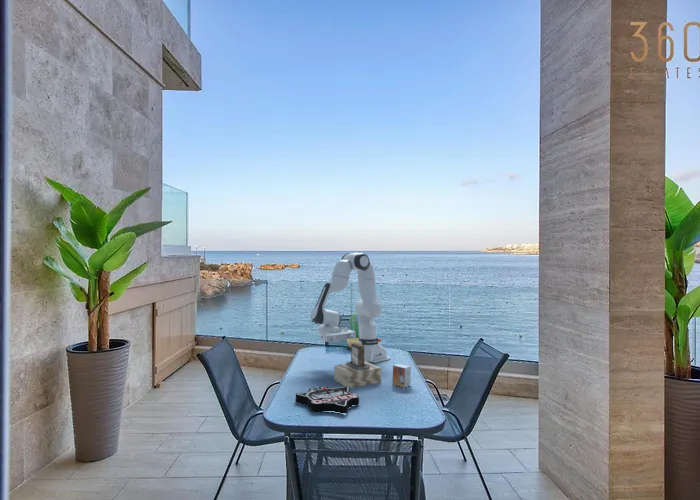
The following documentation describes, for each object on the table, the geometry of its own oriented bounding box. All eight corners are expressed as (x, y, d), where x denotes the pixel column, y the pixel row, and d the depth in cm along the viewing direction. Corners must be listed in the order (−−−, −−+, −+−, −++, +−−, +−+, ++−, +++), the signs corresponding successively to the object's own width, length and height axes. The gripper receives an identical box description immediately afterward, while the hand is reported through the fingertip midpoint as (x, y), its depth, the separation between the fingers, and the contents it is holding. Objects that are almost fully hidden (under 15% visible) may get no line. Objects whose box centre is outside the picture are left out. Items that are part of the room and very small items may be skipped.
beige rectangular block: (365, 375, 249) (365, 358, 249) (380, 382, 235) (381, 365, 235) (334, 380, 239) (334, 362, 239) (349, 388, 225) (349, 369, 225)
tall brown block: (356, 364, 241) (356, 343, 241) (364, 368, 234) (364, 345, 234) (351, 365, 239) (351, 343, 240) (358, 368, 233) (358, 346, 233)
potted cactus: (345, 349, 314) (345, 314, 314) (344, 344, 329) (345, 311, 329) (366, 349, 314) (367, 315, 314) (365, 345, 330) (365, 312, 330)
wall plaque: (344, 383, 221) (373, 401, 195) (343, 391, 221) (373, 410, 194) (291, 390, 208) (315, 411, 182) (291, 399, 208) (315, 421, 182)
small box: (392, 385, 232) (392, 365, 232) (398, 382, 236) (398, 363, 236) (404, 388, 226) (404, 368, 226) (410, 386, 230) (411, 366, 230)
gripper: (318, 331, 256) (329, 335, 244) (348, 327, 266) (360, 330, 254) (318, 342, 256) (330, 346, 244) (348, 337, 266) (360, 341, 254)
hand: (345, 338), depth 249 cm, fingers open, 8 cm apart
